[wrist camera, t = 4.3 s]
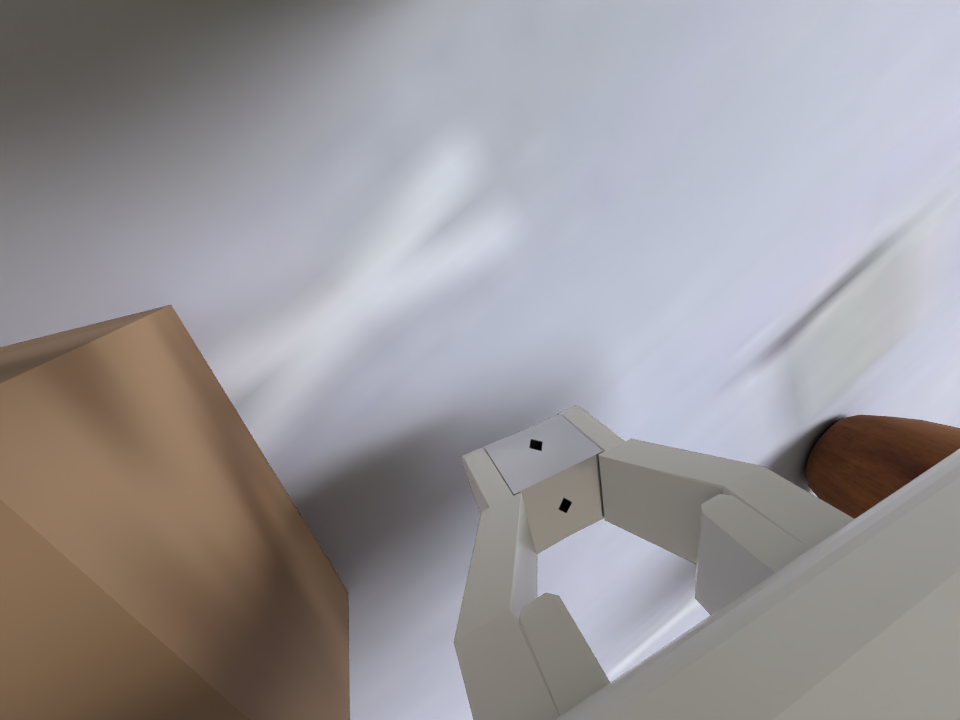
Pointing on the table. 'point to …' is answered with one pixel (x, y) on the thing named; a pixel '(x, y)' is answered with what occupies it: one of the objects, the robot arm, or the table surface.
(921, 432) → the wooden figurine
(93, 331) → the bronze block
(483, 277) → the table surface
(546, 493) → the robot arm
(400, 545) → the table surface
